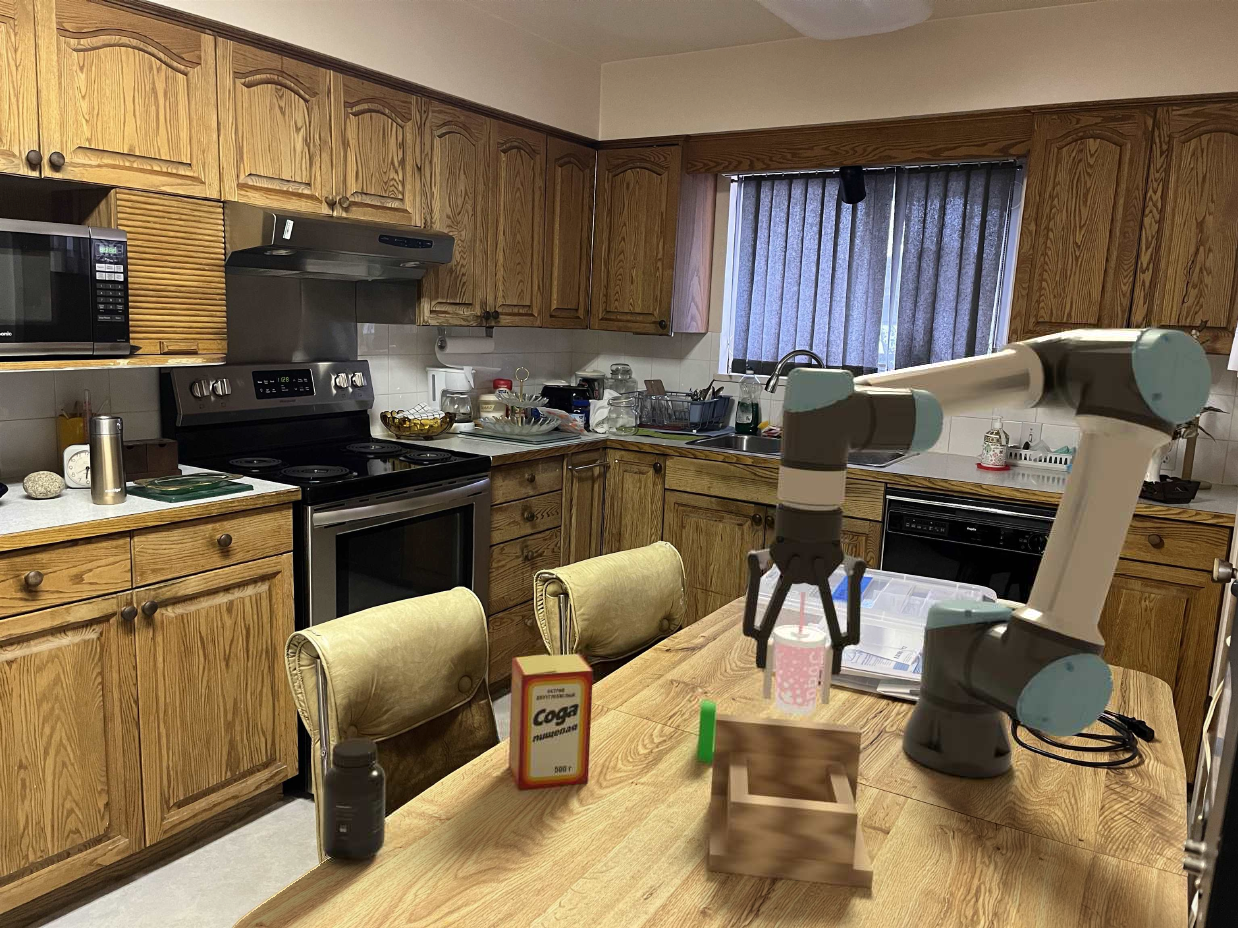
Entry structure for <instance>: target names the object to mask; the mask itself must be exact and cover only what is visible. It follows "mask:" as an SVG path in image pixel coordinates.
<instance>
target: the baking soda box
mask: <svg viewBox="0 0 1238 928" xmlns="http://www.w3.org/2000/svg"><path fill="white" fill-rule="evenodd" d="M511 660H512V661H511V686H510V687H511V689H510V713H509V714H510V716H509V717H510V719H509V720H510V721H509V743H508V744H509V749H508V752H509V753H508V769H509V768H510V769H509V771H510V770H511V771H510V773H512V774H511V777H512V778H514V779H513V781H514V783H515V786H516V788H517V790H518V791H521V790H529V789H530V790H531V789H541V788H550V787H559V786H567V785H577V784H578V785H579V784H587V783H589V770H590V769H589V767H590V766H589V765H590V749H591V747H590V745H591V723H592V722H591V721H592V702H593V677H594V670H593V668H592V667H591V666H590V665H589V663H588V662H587V661H586V660H585V658H584V657H583V656H582V655H581V653H573V654H571V653H570V654H556V655H553V654H552V655H549V654H538V655H537V654H536V655H528V656H519V657H512V659H511Z"/></svg>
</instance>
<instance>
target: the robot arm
mask: <svg viewBox="0 0 1238 928" xmlns="http://www.w3.org/2000/svg"><path fill="white" fill-rule="evenodd" d="M1211 385H1212V372H1211V367H1210V362H1209V360H1208V358H1207V355H1206V352H1205V350H1204V349H1203V347H1202V345H1201V344H1200V343H1199V342H1198V341H1197V340H1196V339H1195V337H1193V336H1191V335H1190V334H1189V333H1186V332H1184V331H1181V330H1176V329H1161V328H1157V327H1145V328H1094V327H1093V328H1090V327H1089V328H1088V327H1087V328H1078V329H1076V328H1075V329H1072V330H1067V331H1061V332H1057V333H1052V334H1049V335H1048V334H1047V335H1044V336H1039V337H1035V338H1030V339H1026V340H1022V341H1021V340H1020V341H1017V342H1010V343H1008V344H1005V345H1003V346H1002V347H1001V348H1000V349H999V350H998V351H997V352H995V353H994V352H993V353H989V354H984V355H983V354H982V355H978V356H971V357H966V358H961V359H960V358H959V359H953V360H948V361H941V362H935V363H932V364H931V363H929V364H924V365H919V366H912V367H907V368H901V369H900V368H899V369H896V370H890V371H884V372H879V373H878V372H877V373H872V374H867V375H860V376H856V377H854V374H853V372H851V371H850V370H846V369H845V370H844V369H832V368H830V369H829V368H813V367H812V368H811V367H810V368H808V367H796V368H794V369H792V370H791V371H789V372H788V375H787V377H786V383H785V387H784V397H783V403H782V406H781V409H782V411H783V412H782V424H781V425H782V427H781V441H780V455H779V456H780V460H779V468H778V469H779V470H778V481H777V482H778V484H777V494H776V495H777V498H778V499H779V500H780V501H781V502H779V503H778V504H777V505H776V509H775V524H774V536H773V540H772V542H771V544H770V545H769V547H768V548H765V549H760V550H755V549H750V550H748V551H747V553H746V559H747V563H748V567H749V568H748V569H749V573H748V574H749V576H748V582H747V589H746V597H745V605H744V611H743V618H742V619H743V620H742V624H741V625H742V634H743V636H744V637H747V638H751V639H753V640H755V642H756V648H755V649H756V650H755V665H756V668H757V669H761V670H763V682H762V683H763V686H762V695H763V699H764V700H771V695H772V684H773V683H772V682H773V671H774V670H773V669H774V668H773V667H774V656H775V642H774V637H771V635H772V632H773V631H774V629H775V625H776V623H777V620H778V619H779V615H780V613H781V611H782V608H783V605H784V603H785V601H786V598H787V596H788V593H789V592H790V590H791V588H792V585H802V584H807V585H809V586H814V587H815V586H816V587H817V588H818V592H819V597H820V600H821V604H822V609H823V615H824V617H825V621H826V626H827V630H828V633H829V637H830V642H826V644H825V645H824V646H823V653H822V660H821V672H820V673H821V674H820V676H821V677H820V688H819V698H820V700H821V704H822V705H830V695H831V693H830V692H831V682H832V680H831V679H832V676H834V675H835V676H839V675H841V672H842V662H843V661H842V660H843V652H844V651H843V650H845V649H846V647H848V646H857V645H859V644H860V643H861V612H862V611H861V610H862V609H861V606H862V605H861V600H862V598H861V597H862V595H861V594H862V591H861V590H862V581H863V578H864V575H865V574H866V571H867V567H868V566H867V563H866V561H864V559H863V558H862V557H861V556H856V557H853V556H852V555H849V554H848V555H847V554H846V553H845V552H844V550H843V548H842V531H843V521H844V520H843V518H844V511H843V509H842V508H841V507H840V505H842V504H843V503H845V497H846V496H845V493H846V481H847V469H848V460H849V453H854V454H855V453H892V454H893V453H895V454H896V453H897V454H903V455H908V454H909V453H910V454H911V453H921V452H926V451H928V450H930V449H932V448H933V447H934V446H935V445H936V444H937V443H938V441H939V440H940V437H941V435H942V433H943V429H944V427H943V426H944V419H945V418H951V417H955V416H960V415H965V414H971V413H976V412H982V411H986V410H991V409H997V408H1002V407H1008V408H1009V409H1012V410H1014V411H1024V410H1029V409H1037V408H1038V409H1052V410H1053V409H1054V410H1055V409H1056V410H1065V411H1072V412H1075V414H1074V418H1073V419H1074V422H1075V423H1076V424H1077V426H1078V427H1079V429H1080V431H1081V437H1080V439H1079V442H1078V445H1077V450H1076V452H1075V456H1074V459H1073V462H1072V464H1071V468H1070V470H1069V471H1070V472H1069V474H1068V477H1067V481H1066V484H1065V486H1064V489H1063V493H1062V496H1061V499H1060V502H1059V504H1058V509H1057V511H1056V514H1055V518H1054V521H1053V523H1052V527H1051V529H1050V534H1049V536H1048V539H1047V542H1046V546H1045V548H1044V552H1043V554H1042V557H1041V561H1040V563H1039V566H1038V570H1037V573H1036V576H1035V580H1034V583H1033V585H1032V586H1033V587H1032V588H1031V591H1030V595H1029V598H1028V601H1027V603H1026V604H1025V605H1023V606H1021V607H1019V608H1017V609H1015V610H1013V609H1012V607H1010V606H1008V605H1006V604H1003V603H998V602H991V601H983V600H981V601H980V600H965V599H964V600H963V599H962V600H960V599H955V600H944V601H943V600H942V601H938V602H936V603H934V604H932V605H931V606H930V607H929V608H928V611H927V616H926V622H925V623H926V625H925V626H924V628H923V629H924V636H923V647H922V661H921V673H920V688H919V695H918V696H919V697H918V699H917V701H916V704H915V706H914V707H913V709H912V712H911V714H910V716H909V718H908V721H907V723H906V725H905V727H904V728H903V734H902V749H903V750H904V752H905V753H906V755H908V756H909V757H910V758H911V759H913V760H914V761H916V762H918V763H919V764H921V765H924V766H926V767H929V768H931V769H932V770H936V771H939V772H943V773H946V774H950V775H954V776H962V777H968V778H989V777H990V778H991V777H996V776H1000V775H1003V774H1005V773H1006V772H1007V771H1009V770H1010V768H1011V765H1012V756H1013V755H1012V754H1013V752H1012V745H1011V741H1010V736H1009V732H1008V728H1007V724H1006V720H1005V714H1006V715H1009V716H1010V717H1011V718H1013V719H1016V720H1018V721H1019V722H1020V723H1022V724H1023V725H1024V726H1025V727H1027V728H1029V729H1035V730H1037V731H1040V732H1042V733H1044V734H1046V735H1049V736H1052V737H1057V738H1059V737H1060V738H1063V737H1072V736H1075V735H1077V734H1079V733H1081V732H1083V731H1084V730H1085V729H1086V728H1090V727H1092V725H1094V724H1095V722H1096V721H1098V719H1099V718H1100V717H1101V716H1102V715H1103V714H1104V712H1105V710H1106V709H1107V707H1108V705H1109V703H1110V700H1111V698H1112V694H1113V690H1114V680H1113V678H1112V675H1113V674H1112V673H1113V672H1112V670H1111V668H1110V666H1109V664H1107V663H1106V661H1105V660H1104V659H1103V658H1102V655H1103V652H1104V648H1105V646H1106V642H1105V640H1104V638H1103V637H1102V634H1101V632H1100V631H1099V628H1098V623H1099V621H1100V617H1101V614H1102V611H1103V608H1104V605H1105V602H1106V599H1107V595H1108V592H1109V589H1110V587H1111V583H1112V581H1113V577H1114V574H1115V571H1116V568H1117V565H1118V561H1119V558H1120V557H1121V556H1120V555H1121V552H1122V549H1123V547H1124V544H1125V540H1126V537H1127V533H1128V531H1129V528H1130V524H1131V521H1132V519H1133V515H1134V512H1135V509H1136V506H1137V503H1138V500H1139V496H1140V493H1141V491H1142V489H1143V485H1144V481H1145V478H1146V476H1147V472H1148V470H1149V467H1150V463H1151V460H1152V457H1153V455H1154V451H1155V450H1157V449H1158V448H1161V447H1162V446H1164V445H1166V444H1168V443H1171V441H1172V440H1173V436H1174V433H1175V429H1176V427H1177V425H1182V424H1185V423H1188V422H1190V421H1192V420H1194V419H1195V418H1196V417H1197V415H1199V414H1201V412H1202V411H1203V410H1204V408H1205V407H1206V405H1207V403H1208V400H1209V397H1210V393H1211V388H1212V386H1211ZM769 560H772V562H773V564H775V566H776V568H777V570H778V571H779V575H778V578H777V580H776V585H775V587H774V590H773V592H772V595H771V597H770V599H769V602H768V604H767V607H766V610H765V612H764V615H763V616H762V619H761V622H760V624H759V626H758V625H756V624H755V622H756V617H757V616H756V614H757V608H758V601H759V594H760V585H761V580H762V579H761V577H762V572H761V570H765V569H766V567H767V563H768V561H769ZM841 565H843V566H844V567H843V571H844V572H845V574H846V576H847V577H846V578H847V579H846V580H847V581H846V583H847V584H846V586H847V587H846V631H844V632H841V627H840V624H839V619H838V616H837V611H836V608H835V603H834V599H833V595H832V589H831V586H830V581H829V578H830V577H831V576H832V574H834V572H835V571H836V570H837V569H838V568H839V567H840V566H841Z"/></svg>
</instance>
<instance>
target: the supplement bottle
mask: <svg viewBox="0 0 1238 928" xmlns="http://www.w3.org/2000/svg"><path fill="white" fill-rule="evenodd" d="M377 748H378V747H377V744H376V743H375V741H373V740H371V739H368V738H367V739H366V738H361V737H360V738H358V737H357V738H348V739H344V740H342V741H340V742H337V743H336V744H335V745H334V746H333V747H332V752H331V753H332V755H331V756H332V758H331V767H329V769H328V770H327V771H326V773H325V774H324V776H323V779H322V829H321V830H322V832H321V833H322V836H321V837H322V849H323V852H324V853H325V855H326V856H327V857H329V858H330V859H333V860H334V861H338V862H345V863H346V862H357V861H362V860H366V859H369V858H370V857H372V856H374V855H376V854H377V853H378V852H379V851H380V850H381V848H383V846H384V843H385V838H386V835H385V833H386V774H385V770H384V768H382V766H381V765H380V764H378V763H377V762H378V751H377V750H378V749H377Z"/></svg>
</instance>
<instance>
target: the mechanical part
mask: <svg viewBox="0 0 1238 928" xmlns="http://www.w3.org/2000/svg"><path fill="white" fill-rule="evenodd" d="M716 708H717V702H714V701H706V700H705V701H704V700H701V704H700V714H699V730H698V732H699V733H698V746H697V761H698V762H708V763H713V753H714V737H715V722H716V713H717V712H716V711H717V709H716Z"/></svg>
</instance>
